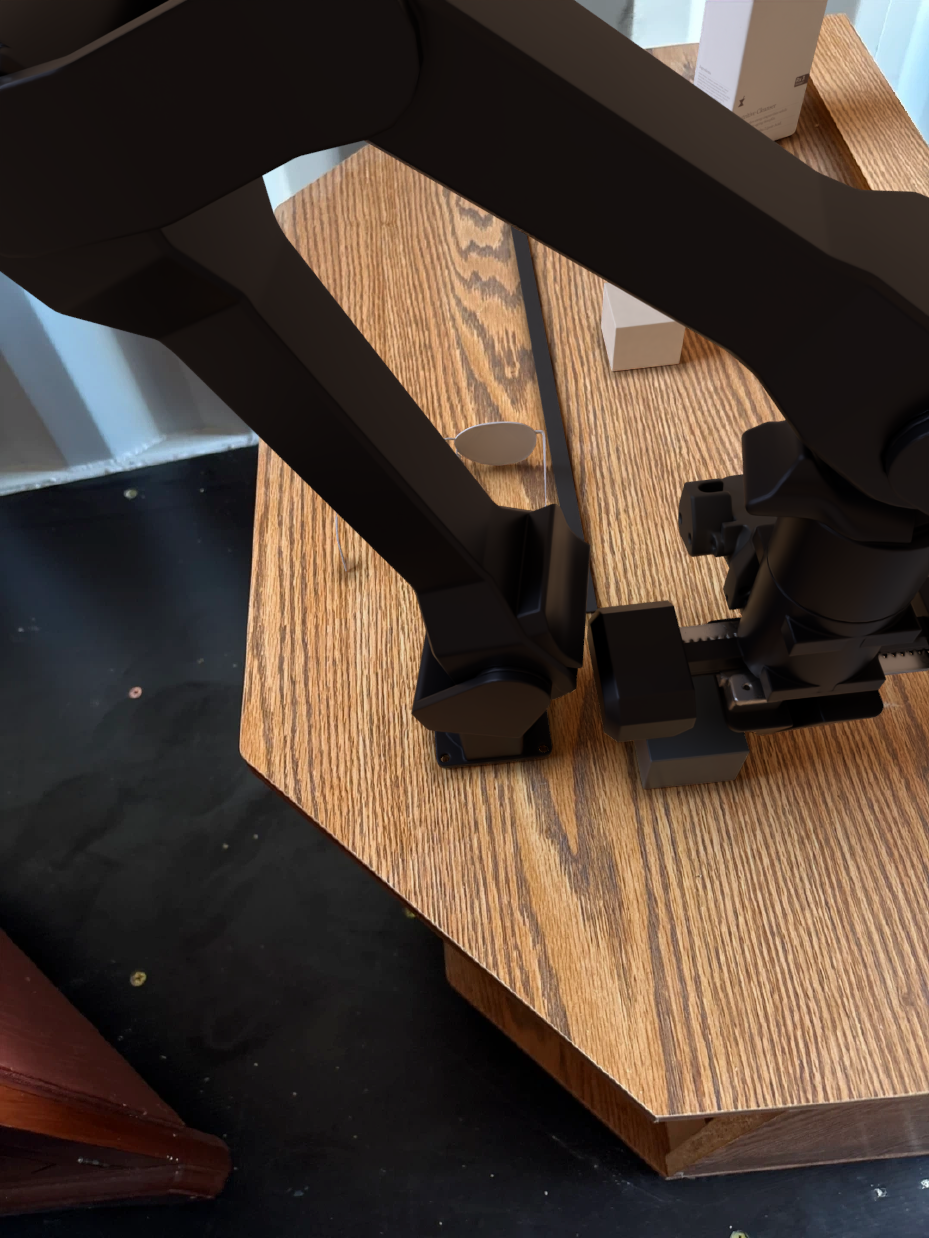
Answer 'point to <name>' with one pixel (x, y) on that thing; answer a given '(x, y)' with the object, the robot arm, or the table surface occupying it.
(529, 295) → the line tape
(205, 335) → the robot arm
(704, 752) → the slate block
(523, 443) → the sunglasses
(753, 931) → the table surface
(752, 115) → the cosmetic box
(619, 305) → the cream block
